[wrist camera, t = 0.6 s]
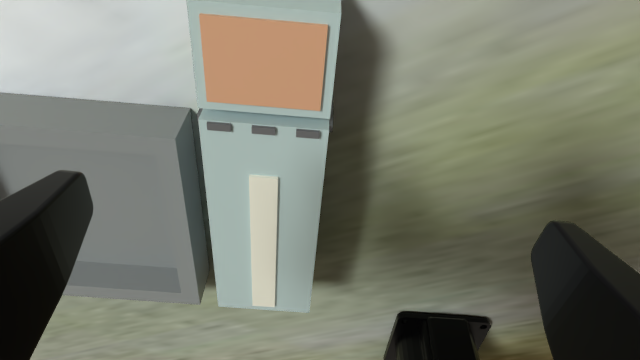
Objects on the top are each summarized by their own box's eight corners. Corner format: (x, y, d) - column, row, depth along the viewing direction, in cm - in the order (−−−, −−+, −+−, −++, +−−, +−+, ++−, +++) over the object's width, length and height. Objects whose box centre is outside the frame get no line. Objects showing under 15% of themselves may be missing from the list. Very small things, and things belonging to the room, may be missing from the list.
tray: (209, 270, 29) (200, 304, 27) (20, 256, 29) (-4, 290, 27) (190, 108, 22) (174, 138, 20) (-68, 87, 21) (-110, 116, 19)
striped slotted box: (314, 257, 28) (311, 315, 25) (228, 251, 28) (215, 308, 25) (333, 81, 20) (332, 132, 17) (215, 71, 20) (193, 121, 17)
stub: (330, 72, 20) (330, 121, 17) (219, 62, 20) (196, 110, 17) (340, -22, 18) (341, 14, 15) (212, -34, 18) (185, 1, 14)
